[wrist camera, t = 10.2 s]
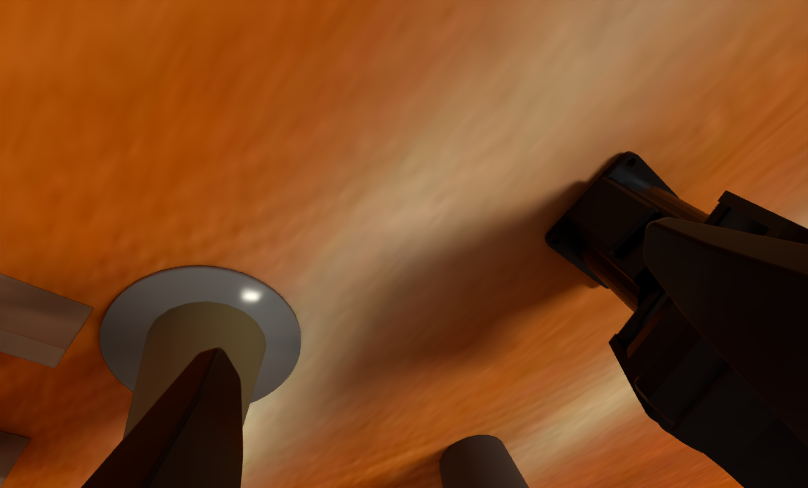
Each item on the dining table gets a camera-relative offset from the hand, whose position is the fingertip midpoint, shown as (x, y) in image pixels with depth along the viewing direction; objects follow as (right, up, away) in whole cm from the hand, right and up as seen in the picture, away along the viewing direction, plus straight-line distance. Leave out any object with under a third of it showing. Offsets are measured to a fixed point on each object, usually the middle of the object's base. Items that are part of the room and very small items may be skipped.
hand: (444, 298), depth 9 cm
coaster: (-12, -4, +15) cm, 20 cm away
